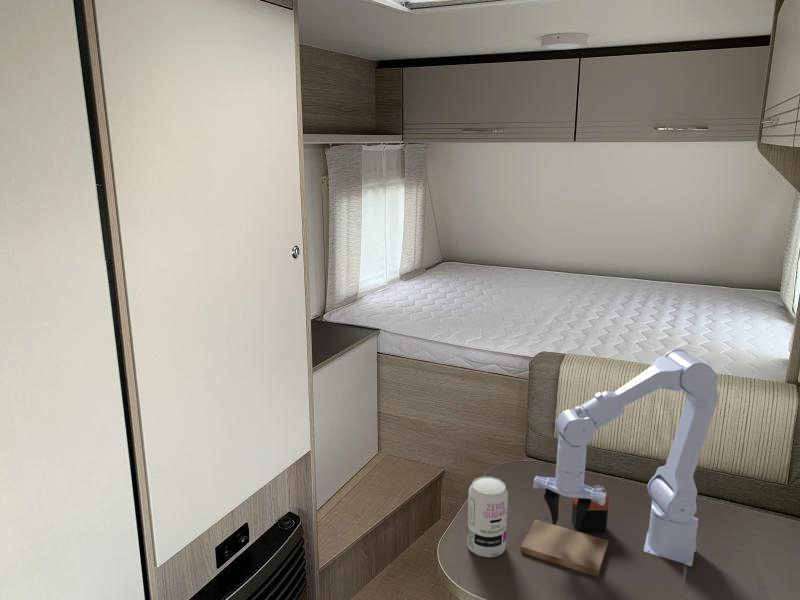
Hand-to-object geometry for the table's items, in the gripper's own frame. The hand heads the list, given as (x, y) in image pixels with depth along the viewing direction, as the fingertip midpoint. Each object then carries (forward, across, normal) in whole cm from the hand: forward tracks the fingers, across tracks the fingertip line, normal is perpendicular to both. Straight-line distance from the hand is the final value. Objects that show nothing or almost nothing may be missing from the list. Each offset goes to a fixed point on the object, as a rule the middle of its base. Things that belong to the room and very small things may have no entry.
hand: (566, 525), depth 125 cm
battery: (+6, -3, -11) cm, 13 cm away
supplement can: (+6, +15, +7) cm, 18 cm away
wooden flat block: (+6, 0, 0) cm, 6 cm away
